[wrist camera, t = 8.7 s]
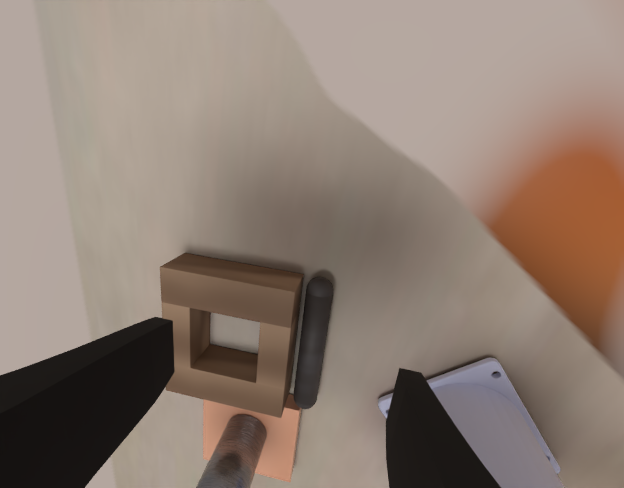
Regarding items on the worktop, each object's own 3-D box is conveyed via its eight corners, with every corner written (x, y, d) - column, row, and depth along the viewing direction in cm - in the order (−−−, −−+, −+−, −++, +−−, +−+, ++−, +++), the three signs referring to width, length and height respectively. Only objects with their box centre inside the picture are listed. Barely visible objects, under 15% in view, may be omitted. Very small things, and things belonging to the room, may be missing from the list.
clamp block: (184, 248, 19) (159, 262, 17) (336, 275, 18) (331, 293, 16) (187, 368, 22) (166, 393, 20) (317, 398, 21) (311, 429, 19)
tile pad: (211, 376, 22) (203, 388, 21) (303, 397, 21) (299, 411, 20) (210, 444, 24) (203, 458, 23) (293, 466, 23) (290, 482, 22)
